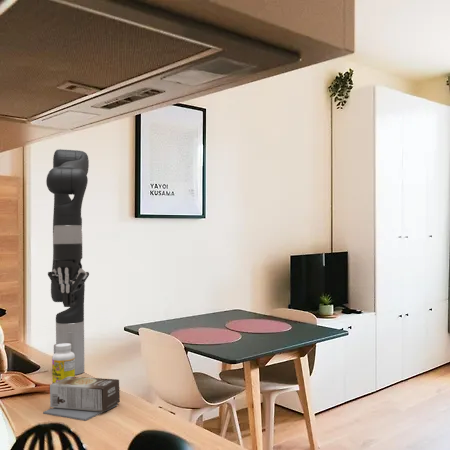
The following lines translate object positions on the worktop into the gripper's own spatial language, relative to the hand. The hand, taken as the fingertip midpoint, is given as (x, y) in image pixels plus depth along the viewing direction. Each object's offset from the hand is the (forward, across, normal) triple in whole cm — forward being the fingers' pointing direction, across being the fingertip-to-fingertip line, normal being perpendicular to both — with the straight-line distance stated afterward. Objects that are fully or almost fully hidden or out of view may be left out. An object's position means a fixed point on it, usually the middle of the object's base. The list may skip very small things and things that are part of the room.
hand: (68, 306), depth 142 cm
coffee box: (+23, +4, -1) cm, 24 cm away
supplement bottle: (+27, +16, -15) cm, 35 cm away
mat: (+27, -4, 0) cm, 27 cm away
